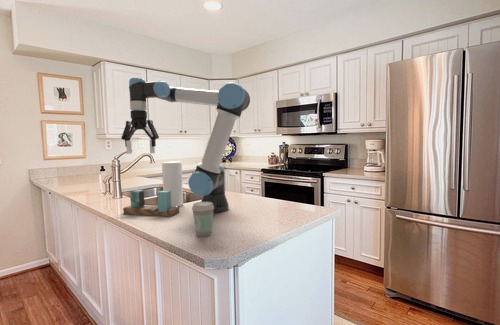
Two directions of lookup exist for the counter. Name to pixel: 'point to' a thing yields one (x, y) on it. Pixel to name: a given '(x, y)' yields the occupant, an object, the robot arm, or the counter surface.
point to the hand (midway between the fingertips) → (140, 153)
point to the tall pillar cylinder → (173, 181)
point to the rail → (142, 209)
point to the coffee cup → (203, 218)
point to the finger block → (164, 201)
